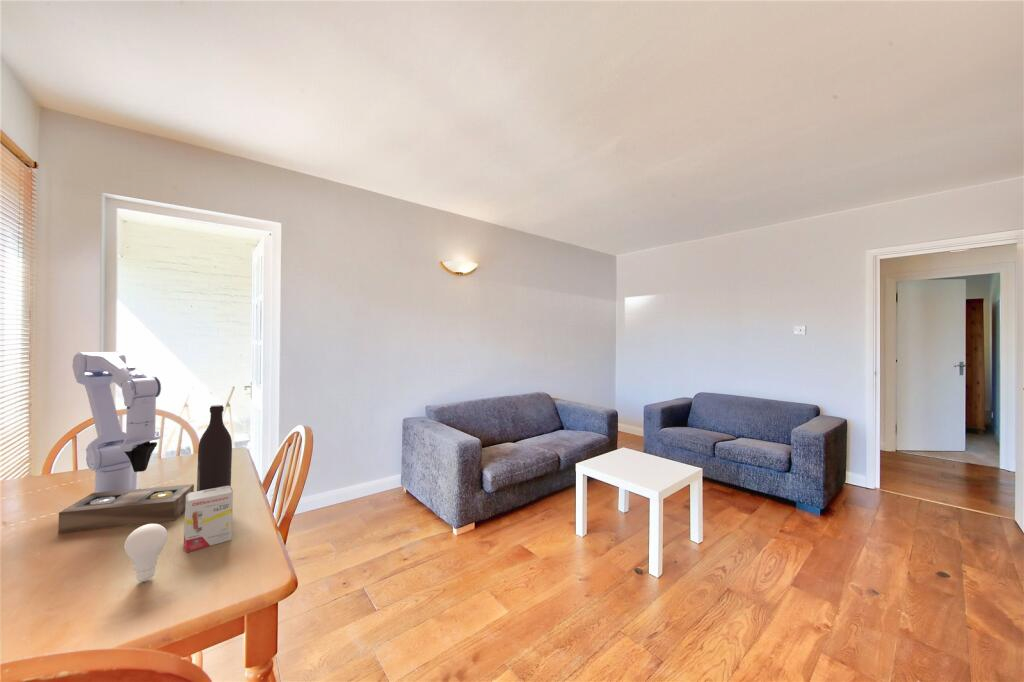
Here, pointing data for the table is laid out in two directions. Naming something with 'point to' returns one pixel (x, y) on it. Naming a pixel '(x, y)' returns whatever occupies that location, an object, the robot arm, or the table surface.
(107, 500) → the steel peg
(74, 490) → the table surface
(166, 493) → the brass peg
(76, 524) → the peg board
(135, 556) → the lightbulb
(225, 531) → the ink box
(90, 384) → the robot arm
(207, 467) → the wine bottle
